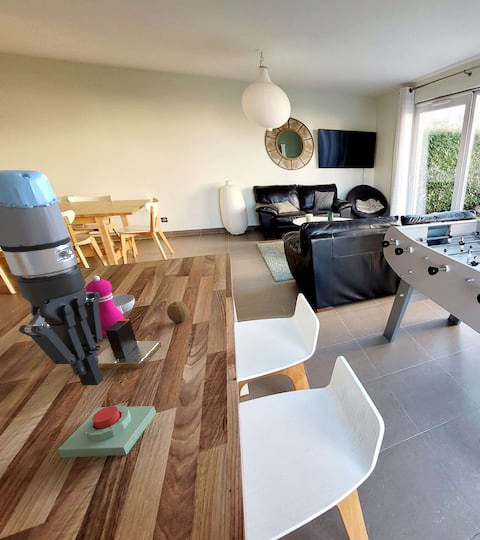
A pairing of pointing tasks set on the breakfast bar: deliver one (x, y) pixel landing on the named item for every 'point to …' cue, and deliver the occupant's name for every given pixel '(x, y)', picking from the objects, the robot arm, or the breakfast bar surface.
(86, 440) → the block
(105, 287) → the pepper mill
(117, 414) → the button
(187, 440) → the breakfast bar surface
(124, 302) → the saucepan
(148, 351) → the shiny metal plate
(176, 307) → the fruit
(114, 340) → the black rectangular block
